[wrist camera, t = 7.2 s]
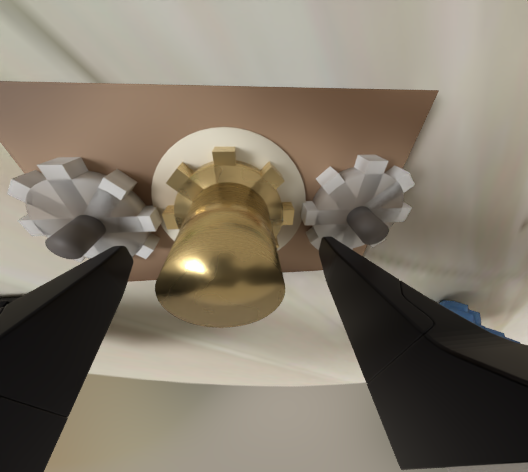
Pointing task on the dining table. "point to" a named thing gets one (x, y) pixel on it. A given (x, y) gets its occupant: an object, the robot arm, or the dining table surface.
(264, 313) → the brass gear
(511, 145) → the dining table surface
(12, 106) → the gear board
